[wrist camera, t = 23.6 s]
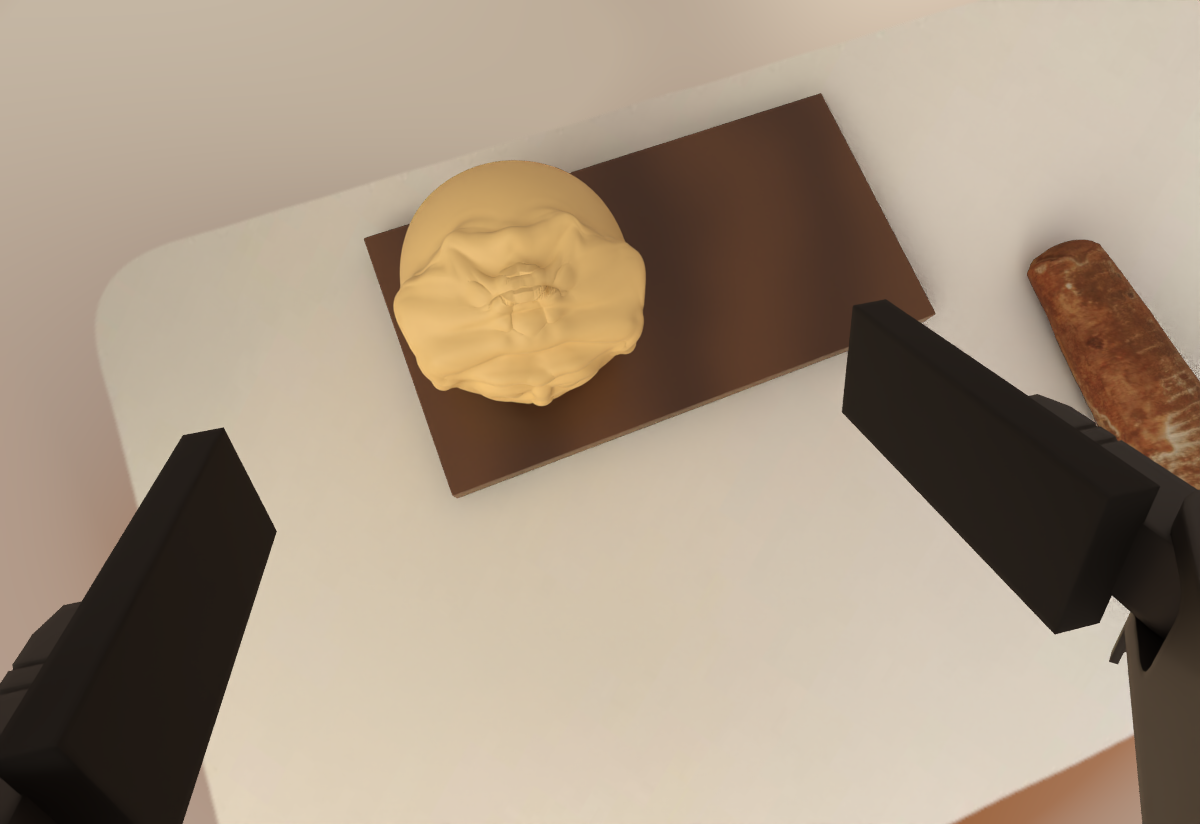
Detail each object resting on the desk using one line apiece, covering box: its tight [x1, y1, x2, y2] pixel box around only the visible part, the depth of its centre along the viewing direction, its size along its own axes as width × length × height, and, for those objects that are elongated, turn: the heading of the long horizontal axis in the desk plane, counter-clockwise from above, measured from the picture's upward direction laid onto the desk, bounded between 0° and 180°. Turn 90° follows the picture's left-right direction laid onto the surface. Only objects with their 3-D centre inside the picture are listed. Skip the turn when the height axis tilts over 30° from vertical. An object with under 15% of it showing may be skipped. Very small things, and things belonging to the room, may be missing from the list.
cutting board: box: [364, 93, 935, 498], centre depth 40 cm, size 30×16×2 cm, turn 111°
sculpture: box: [393, 160, 646, 406], centre depth 33 cm, size 12×12×11 cm
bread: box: [1027, 240, 1200, 490], centre depth 38 cm, size 6×19×6 cm, turn 17°
